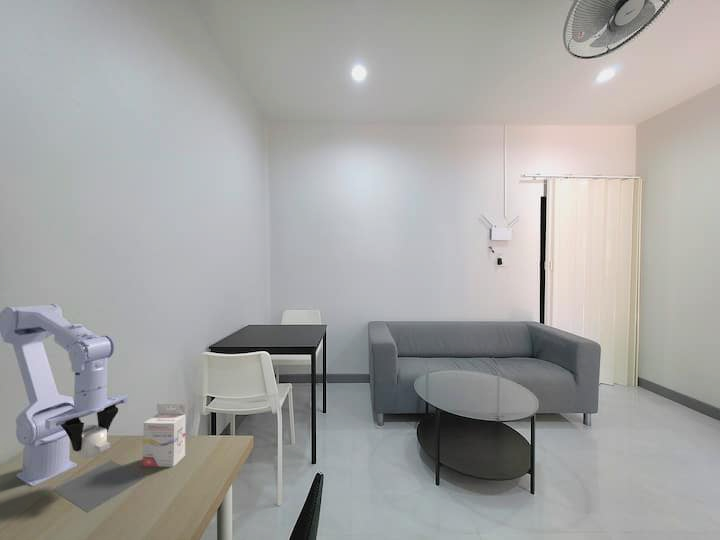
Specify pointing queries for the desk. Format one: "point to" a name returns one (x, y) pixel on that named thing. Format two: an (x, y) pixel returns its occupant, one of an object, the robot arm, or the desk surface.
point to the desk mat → (98, 485)
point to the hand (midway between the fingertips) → (89, 444)
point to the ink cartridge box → (165, 436)
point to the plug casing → (93, 441)
